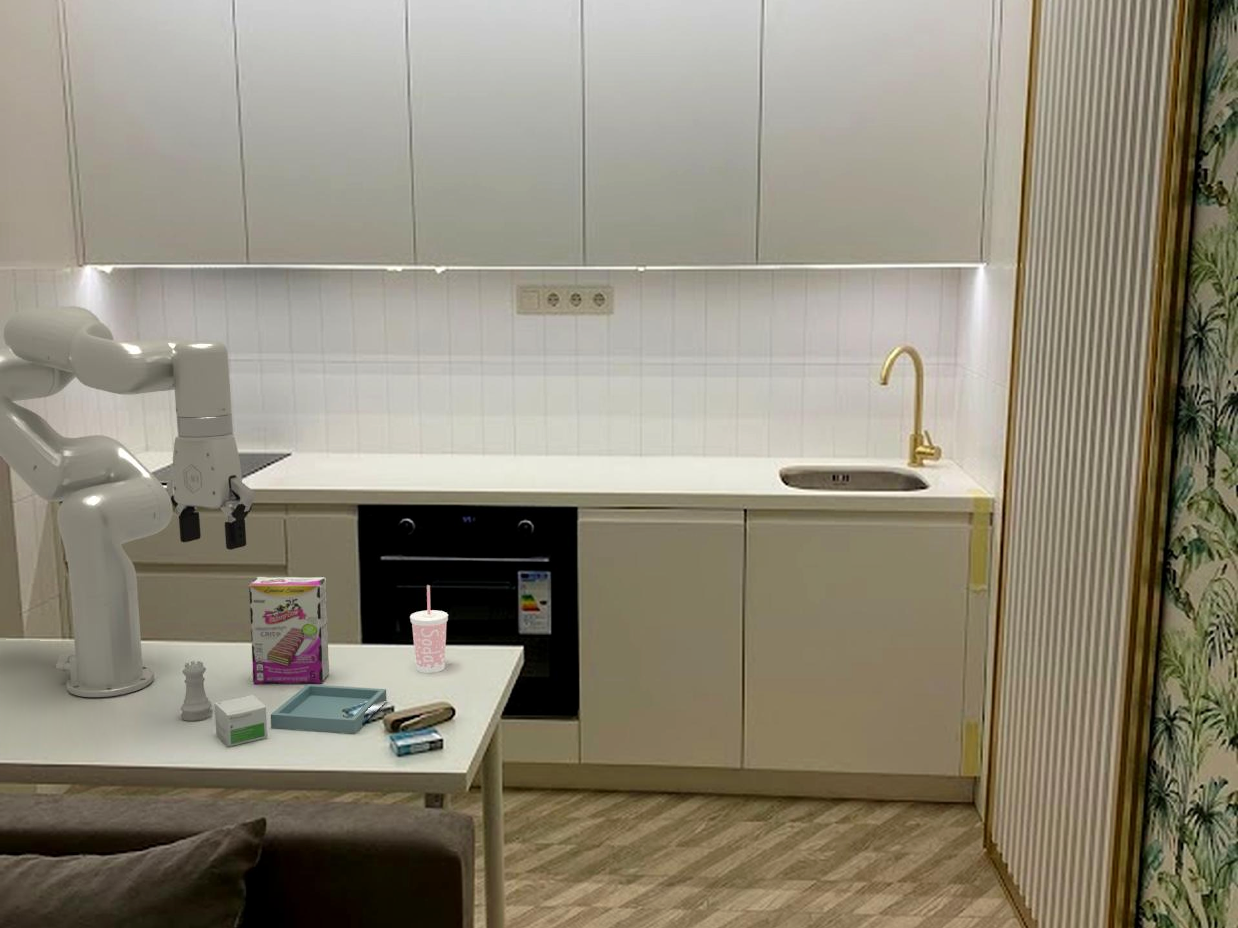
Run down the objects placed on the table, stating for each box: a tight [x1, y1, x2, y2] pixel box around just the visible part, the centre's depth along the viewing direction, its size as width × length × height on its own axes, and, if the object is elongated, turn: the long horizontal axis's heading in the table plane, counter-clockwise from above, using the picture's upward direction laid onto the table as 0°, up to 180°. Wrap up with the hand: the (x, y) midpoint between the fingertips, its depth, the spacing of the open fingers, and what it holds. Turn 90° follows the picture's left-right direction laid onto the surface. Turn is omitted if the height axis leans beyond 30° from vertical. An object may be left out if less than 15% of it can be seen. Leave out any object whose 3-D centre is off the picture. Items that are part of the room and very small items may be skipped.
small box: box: [213, 694, 268, 748], centre depth 167 cm, size 6×6×5 cm
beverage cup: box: [409, 584, 449, 674], centre depth 195 cm, size 6×6×14 cm
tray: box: [270, 683, 387, 735], centre depth 176 cm, size 13×13×2 cm
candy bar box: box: [248, 576, 330, 685], centre depth 189 cm, size 11×5×16 cm, turn 92°
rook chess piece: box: [180, 660, 213, 722], centre depth 174 cm, size 4×4×8 cm
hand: (213, 543), depth 174 cm, fingers open, 9 cm apart
